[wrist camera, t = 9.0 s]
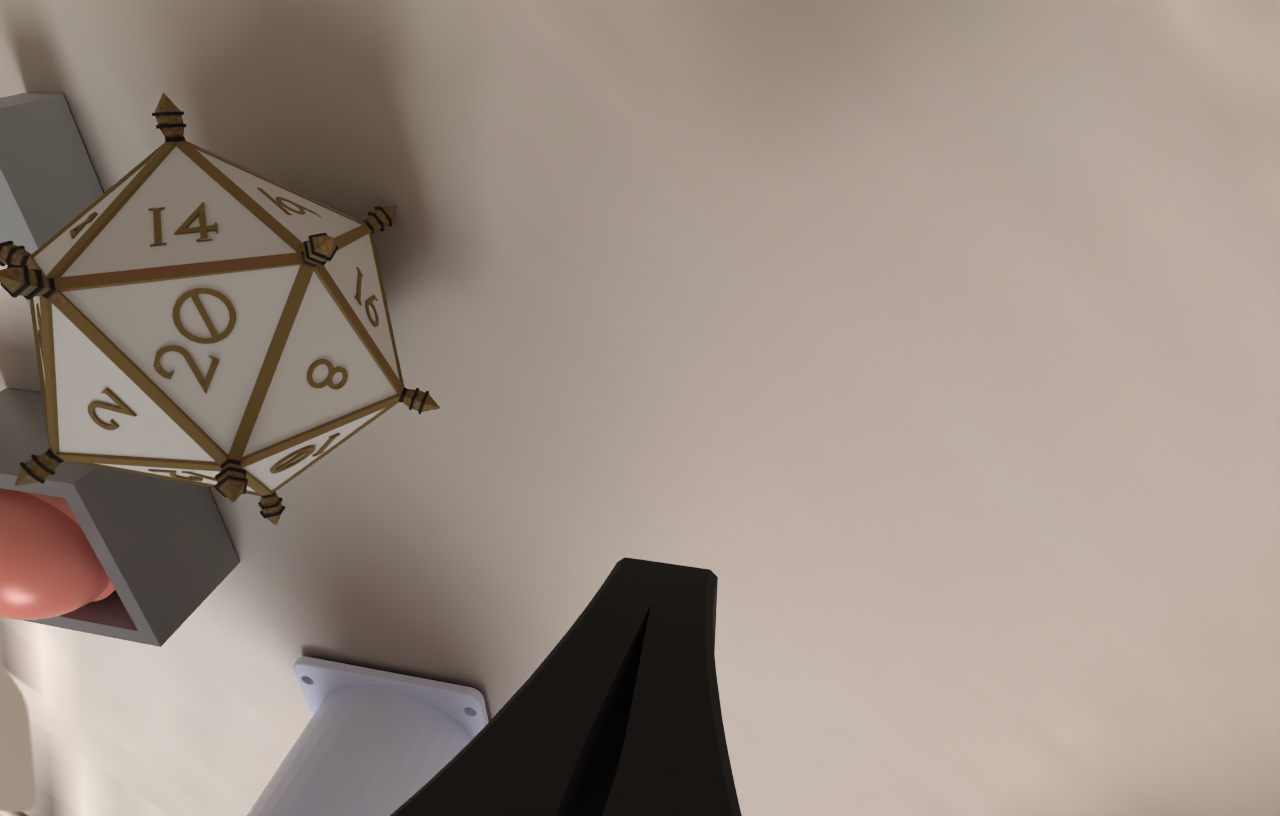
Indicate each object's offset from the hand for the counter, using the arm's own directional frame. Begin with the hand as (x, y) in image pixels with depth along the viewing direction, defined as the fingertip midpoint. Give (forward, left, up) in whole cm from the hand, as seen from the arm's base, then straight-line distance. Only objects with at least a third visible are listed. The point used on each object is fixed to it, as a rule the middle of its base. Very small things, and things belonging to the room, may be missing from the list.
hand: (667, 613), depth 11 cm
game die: (+1, +11, -10) cm, 15 cm away
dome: (-8, +21, -9) cm, 25 cm away
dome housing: (-8, +22, -9) cm, 25 cm away
